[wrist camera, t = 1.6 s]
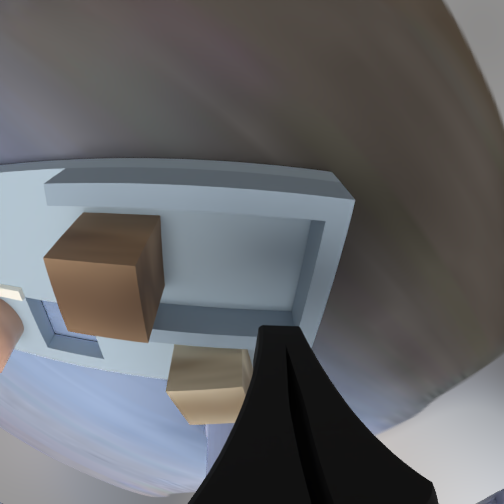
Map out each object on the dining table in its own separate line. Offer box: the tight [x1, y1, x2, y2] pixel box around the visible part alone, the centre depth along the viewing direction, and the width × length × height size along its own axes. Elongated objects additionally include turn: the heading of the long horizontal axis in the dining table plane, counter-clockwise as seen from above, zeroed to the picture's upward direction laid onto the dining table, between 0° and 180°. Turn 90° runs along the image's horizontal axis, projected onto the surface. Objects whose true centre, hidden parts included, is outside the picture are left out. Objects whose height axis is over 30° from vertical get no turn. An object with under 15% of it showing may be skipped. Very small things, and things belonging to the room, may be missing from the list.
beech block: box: [166, 344, 253, 425], centre depth 17 cm, size 4×4×4 cm
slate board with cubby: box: [0, 158, 355, 380], centre depth 16 cm, size 15×24×4 cm, turn 84°
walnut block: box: [43, 212, 165, 343], centre depth 13 cm, size 4×4×4 cm
